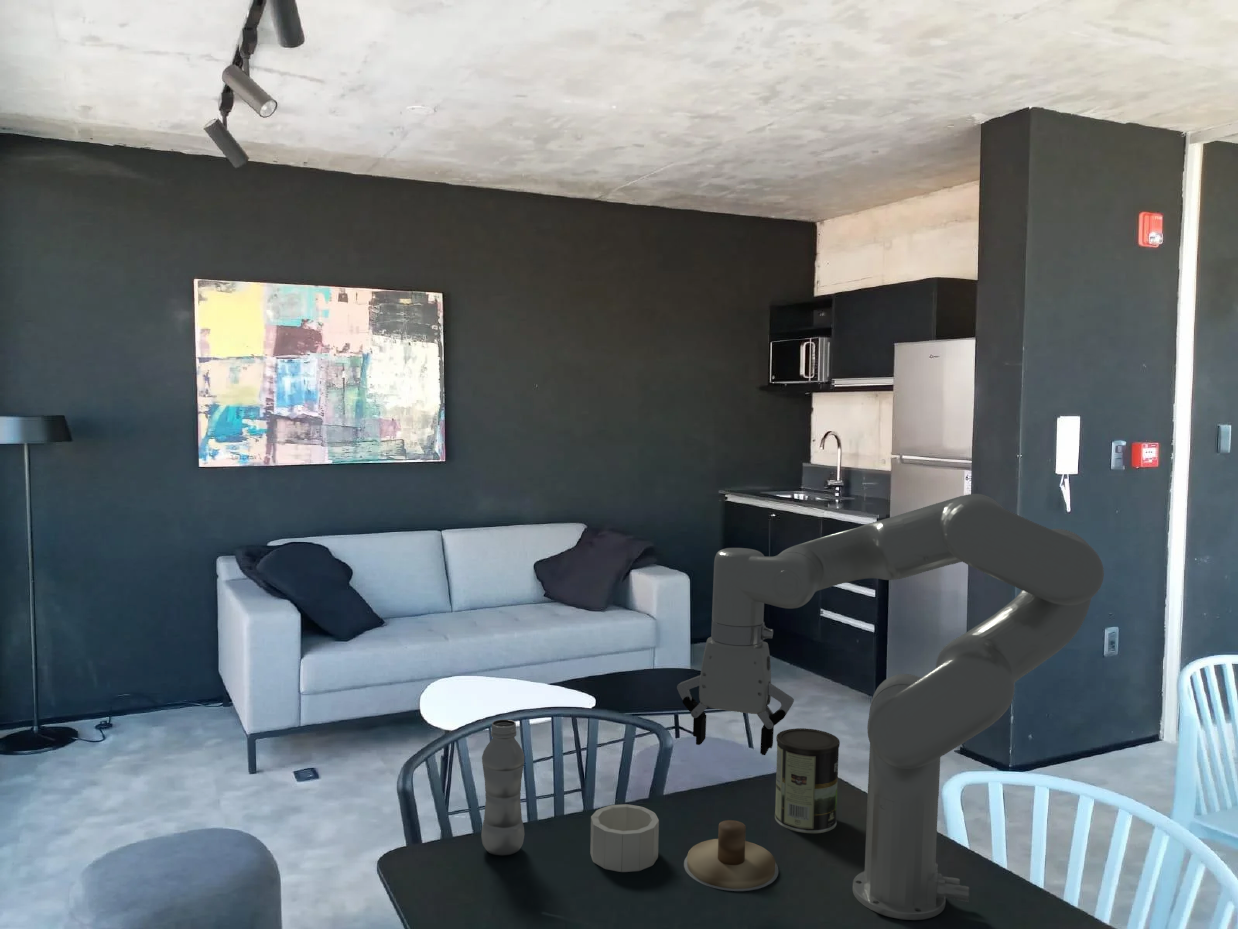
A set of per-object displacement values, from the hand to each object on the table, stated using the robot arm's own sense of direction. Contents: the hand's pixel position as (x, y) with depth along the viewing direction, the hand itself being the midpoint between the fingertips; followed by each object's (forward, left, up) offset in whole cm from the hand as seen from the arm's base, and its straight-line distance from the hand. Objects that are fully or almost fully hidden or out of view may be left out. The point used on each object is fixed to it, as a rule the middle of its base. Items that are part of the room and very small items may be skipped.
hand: (732, 746), depth 141 cm
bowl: (+16, +2, -19) cm, 24 cm away
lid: (0, 0, -18) cm, 18 cm away
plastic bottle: (+34, +7, -19) cm, 39 cm away
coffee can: (-8, -21, -19) cm, 29 cm away
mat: (0, 0, -19) cm, 19 cm away
